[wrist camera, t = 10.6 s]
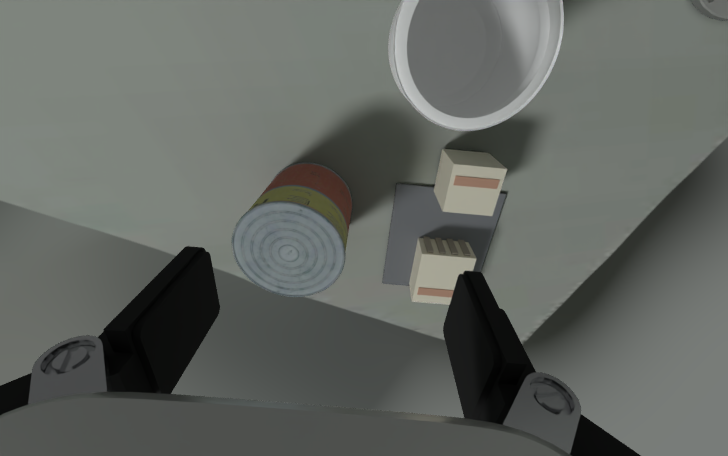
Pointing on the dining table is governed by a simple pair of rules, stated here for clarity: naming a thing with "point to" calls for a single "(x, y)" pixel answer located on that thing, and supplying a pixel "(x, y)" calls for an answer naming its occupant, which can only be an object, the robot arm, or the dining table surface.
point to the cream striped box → (439, 268)
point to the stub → (468, 182)
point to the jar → (473, 57)
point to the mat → (431, 229)
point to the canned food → (296, 232)
